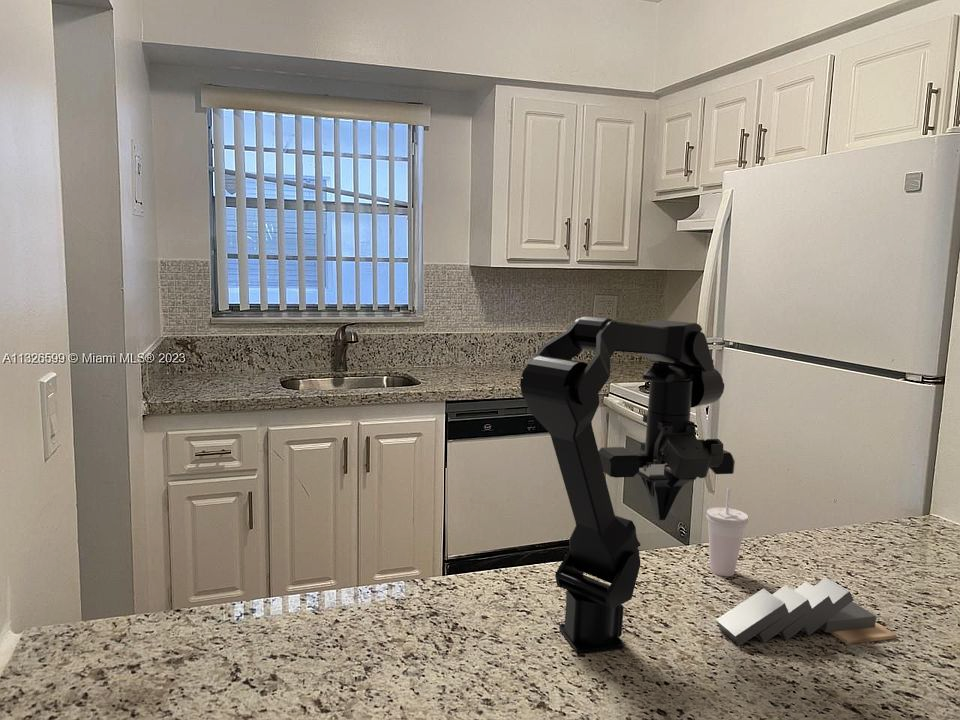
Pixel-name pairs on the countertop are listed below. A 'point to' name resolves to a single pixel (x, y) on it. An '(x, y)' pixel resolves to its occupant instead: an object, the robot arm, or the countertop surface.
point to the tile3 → (818, 604)
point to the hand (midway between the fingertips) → (660, 519)
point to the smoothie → (725, 537)
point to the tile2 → (795, 607)
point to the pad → (864, 634)
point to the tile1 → (752, 616)
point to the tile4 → (838, 598)
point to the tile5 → (850, 619)
